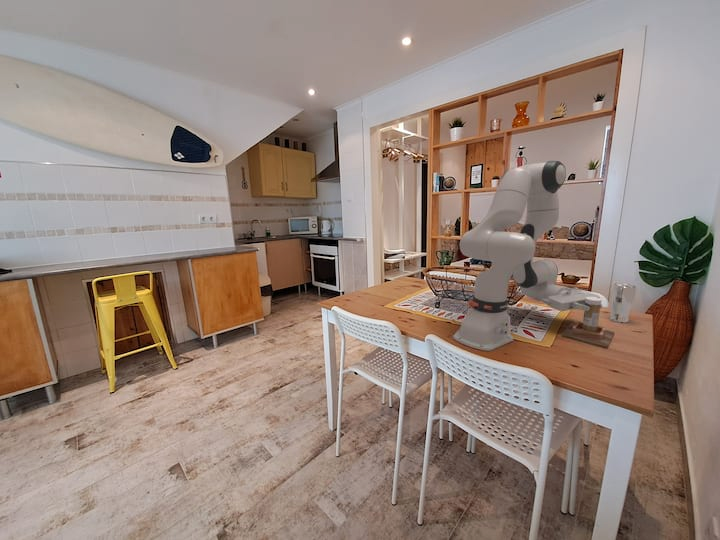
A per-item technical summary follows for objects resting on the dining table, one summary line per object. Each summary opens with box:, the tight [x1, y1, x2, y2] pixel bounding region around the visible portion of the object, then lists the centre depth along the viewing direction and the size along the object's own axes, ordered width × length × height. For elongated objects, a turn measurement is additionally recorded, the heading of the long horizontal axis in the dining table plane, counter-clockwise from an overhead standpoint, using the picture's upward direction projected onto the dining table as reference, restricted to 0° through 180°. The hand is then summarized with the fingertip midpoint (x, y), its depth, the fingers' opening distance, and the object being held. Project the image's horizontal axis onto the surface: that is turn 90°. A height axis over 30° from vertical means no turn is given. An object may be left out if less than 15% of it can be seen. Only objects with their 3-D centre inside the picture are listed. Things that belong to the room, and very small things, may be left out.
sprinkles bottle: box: [582, 297, 602, 333], centre depth 103 cm, size 5×5×14 cm
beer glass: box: [608, 282, 637, 324], centre depth 116 cm, size 7×7×15 cm
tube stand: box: [561, 321, 615, 349], centre depth 104 cm, size 16×13×3 cm
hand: (595, 308), depth 102 cm, fingers closed on sprinkles bottle, 4 cm apart
